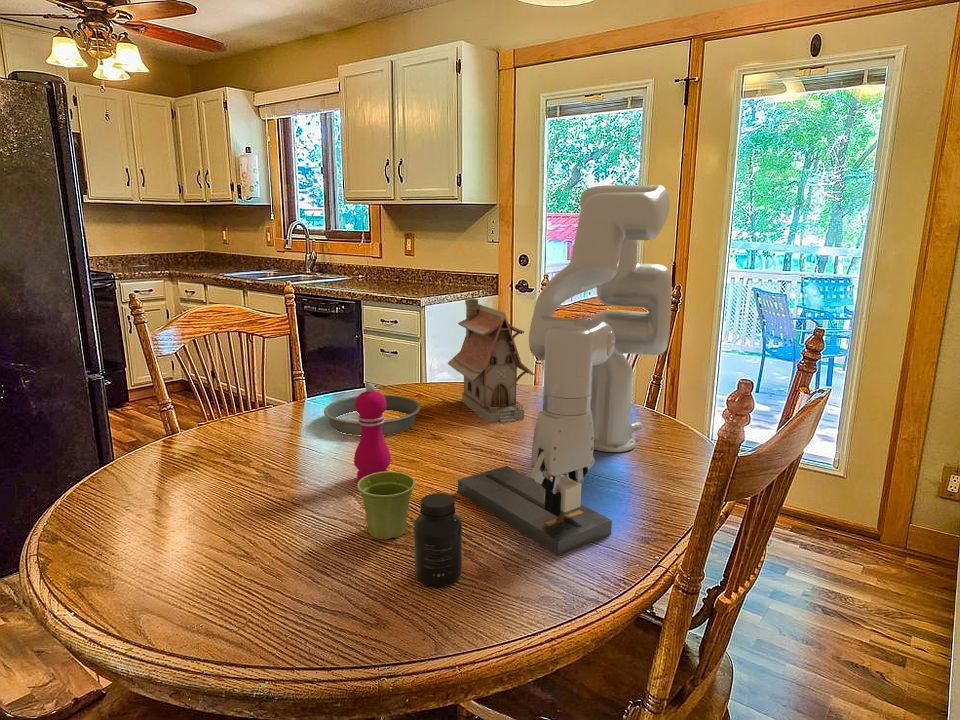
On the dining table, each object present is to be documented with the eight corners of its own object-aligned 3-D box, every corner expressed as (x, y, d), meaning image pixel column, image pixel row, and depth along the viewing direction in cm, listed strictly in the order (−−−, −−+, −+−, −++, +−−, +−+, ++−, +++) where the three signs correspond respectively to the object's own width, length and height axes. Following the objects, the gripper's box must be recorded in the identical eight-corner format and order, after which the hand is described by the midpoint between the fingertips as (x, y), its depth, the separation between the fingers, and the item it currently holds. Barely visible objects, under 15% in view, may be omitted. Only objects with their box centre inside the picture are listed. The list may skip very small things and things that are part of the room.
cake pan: (374, 404, 171) (373, 389, 171) (440, 420, 157) (440, 404, 157) (304, 426, 152) (303, 409, 151) (372, 447, 138) (372, 428, 137)
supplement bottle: (415, 563, 90) (414, 489, 87) (460, 562, 91) (460, 488, 88) (414, 590, 83) (413, 511, 81) (463, 588, 84) (463, 510, 81)
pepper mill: (383, 489, 115) (381, 389, 111) (348, 486, 117) (344, 387, 112) (396, 474, 122) (394, 380, 118) (363, 471, 124) (359, 378, 119)
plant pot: (425, 523, 102) (424, 475, 101) (400, 550, 94) (399, 499, 92) (376, 514, 105) (375, 468, 104) (348, 539, 97) (346, 489, 95)
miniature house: (475, 426, 152) (476, 309, 146) (446, 401, 174) (446, 298, 168) (539, 419, 159) (543, 306, 152) (503, 395, 181) (505, 296, 174)
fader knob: (543, 509, 101) (544, 478, 99) (559, 504, 103) (560, 474, 101) (564, 521, 97) (565, 489, 96) (579, 515, 99) (581, 484, 98)
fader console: (457, 491, 115) (457, 479, 114) (506, 477, 121) (507, 465, 121) (557, 556, 92) (558, 540, 92) (611, 534, 99) (612, 519, 99)
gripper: (586, 390, 103) (581, 489, 107) (511, 406, 94) (508, 513, 98) (619, 400, 97) (612, 504, 101) (543, 418, 88) (539, 532, 92)
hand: (561, 507), depth 100 cm, fingers closed on fader knob, 3 cm apart
